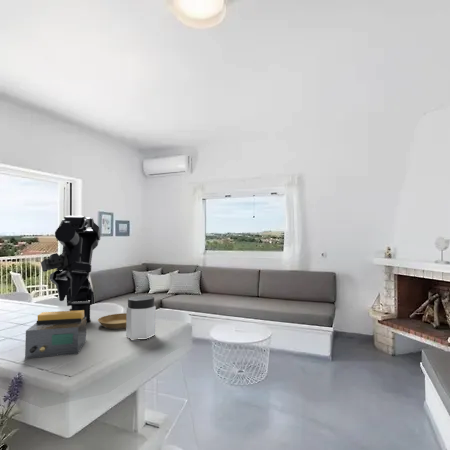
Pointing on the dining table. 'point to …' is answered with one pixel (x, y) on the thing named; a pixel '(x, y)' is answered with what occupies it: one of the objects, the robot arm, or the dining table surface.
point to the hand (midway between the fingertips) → (67, 299)
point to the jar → (140, 317)
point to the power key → (61, 315)
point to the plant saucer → (113, 321)
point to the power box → (55, 337)
